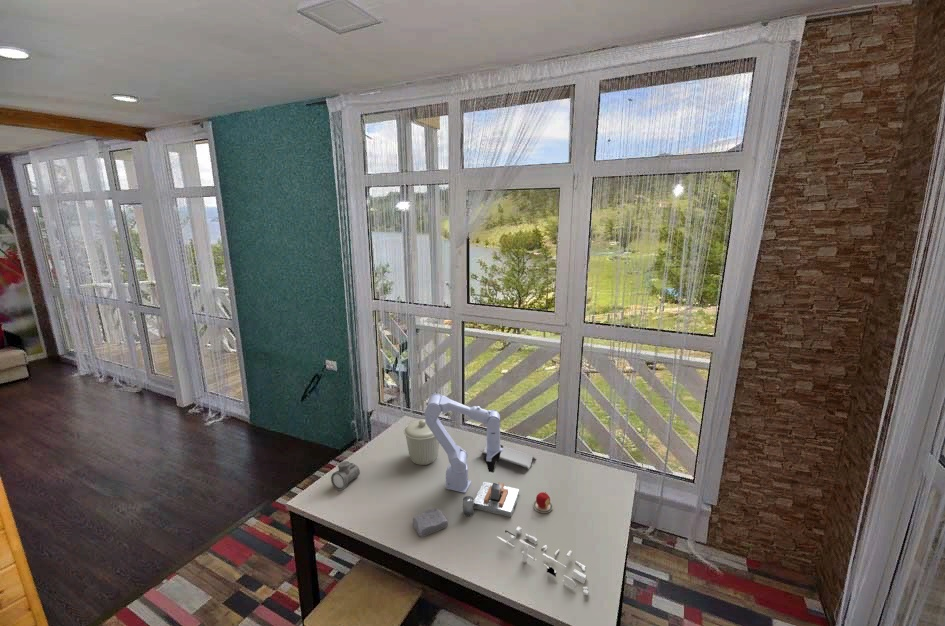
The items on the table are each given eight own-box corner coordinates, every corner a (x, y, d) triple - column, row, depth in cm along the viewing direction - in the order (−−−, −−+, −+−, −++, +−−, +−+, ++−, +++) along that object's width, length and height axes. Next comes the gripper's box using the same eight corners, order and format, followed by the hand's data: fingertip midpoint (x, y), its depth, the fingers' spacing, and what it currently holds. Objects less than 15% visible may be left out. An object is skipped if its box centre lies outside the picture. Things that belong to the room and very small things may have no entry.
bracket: (483, 501, 167) (483, 499, 167) (492, 483, 178) (492, 481, 178) (502, 506, 165) (502, 503, 165) (510, 487, 176) (510, 485, 176)
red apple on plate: (553, 501, 171) (554, 488, 169) (551, 515, 163) (552, 501, 162) (534, 498, 173) (534, 485, 171) (531, 511, 165) (532, 498, 164)
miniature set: (493, 545, 148) (509, 529, 158) (585, 603, 129) (598, 580, 139) (495, 529, 147) (512, 514, 157) (589, 585, 128) (601, 563, 138)
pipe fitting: (344, 492, 176) (342, 470, 175) (330, 488, 180) (329, 466, 179) (363, 479, 187) (362, 458, 186) (350, 475, 191) (349, 455, 189)
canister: (397, 461, 198) (395, 422, 193) (422, 444, 213) (420, 407, 207) (425, 475, 188) (424, 434, 183) (449, 455, 203) (448, 417, 197)
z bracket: (487, 456, 209) (491, 444, 212) (532, 471, 197) (536, 458, 200) (478, 450, 200) (483, 437, 202) (526, 465, 188) (530, 452, 190)
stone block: (411, 526, 161) (420, 539, 152) (410, 514, 160) (419, 527, 152) (439, 516, 166) (449, 528, 158) (438, 505, 166) (448, 516, 157)
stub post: (461, 514, 164) (461, 502, 162) (465, 507, 168) (464, 494, 166) (471, 517, 162) (471, 504, 161) (475, 509, 166) (475, 497, 165)
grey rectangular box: (491, 504, 169) (491, 487, 167) (493, 499, 173) (493, 482, 170) (498, 506, 168) (499, 489, 166) (501, 500, 171) (501, 484, 169)
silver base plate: (473, 507, 168) (473, 502, 167) (483, 486, 180) (483, 481, 180) (510, 517, 162) (511, 511, 162) (519, 494, 175) (519, 489, 175)
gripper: (497, 449, 166) (498, 478, 169) (506, 431, 179) (507, 458, 183) (481, 446, 168) (481, 475, 172) (491, 428, 181) (491, 455, 185)
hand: (493, 466), depth 177 cm, fingers open, 7 cm apart
